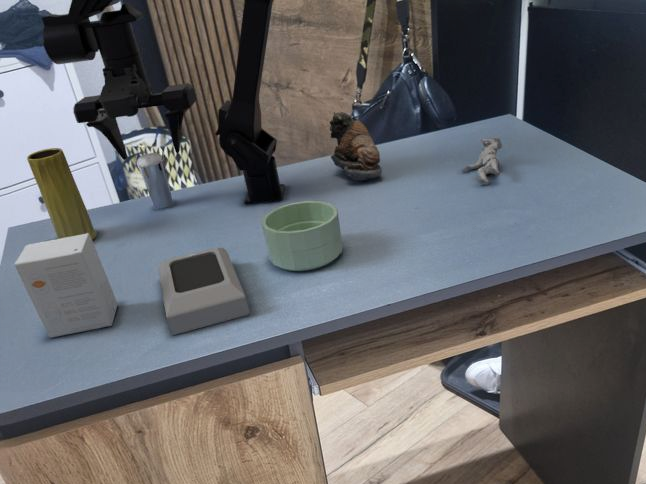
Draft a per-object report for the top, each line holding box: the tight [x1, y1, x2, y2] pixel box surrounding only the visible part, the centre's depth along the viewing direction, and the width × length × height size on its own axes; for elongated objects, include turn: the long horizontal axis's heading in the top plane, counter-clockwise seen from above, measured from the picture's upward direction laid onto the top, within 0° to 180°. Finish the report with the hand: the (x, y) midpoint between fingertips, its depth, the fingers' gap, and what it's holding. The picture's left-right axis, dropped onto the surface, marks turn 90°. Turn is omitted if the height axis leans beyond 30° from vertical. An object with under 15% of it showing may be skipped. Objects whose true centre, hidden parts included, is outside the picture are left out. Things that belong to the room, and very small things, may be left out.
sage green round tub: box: [261, 200, 343, 272], centre depth 88 cm, size 10×10×6 cm
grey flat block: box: [157, 247, 251, 336], centre depth 82 cm, size 10×4×15 cm
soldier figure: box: [462, 136, 503, 186], centre depth 106 cm, size 8×5×12 cm
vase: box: [26, 147, 98, 241], centre depth 101 cm, size 6×6×14 cm
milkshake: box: [136, 147, 174, 210], centre depth 110 cm, size 4×5×10 cm
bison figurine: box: [329, 111, 383, 182], centre depth 111 cm, size 12×7×10 cm, turn 28°
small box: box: [13, 233, 119, 339], centre depth 79 cm, size 8×6×10 cm
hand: (151, 155), depth 108 cm, fingers open, 9 cm apart
